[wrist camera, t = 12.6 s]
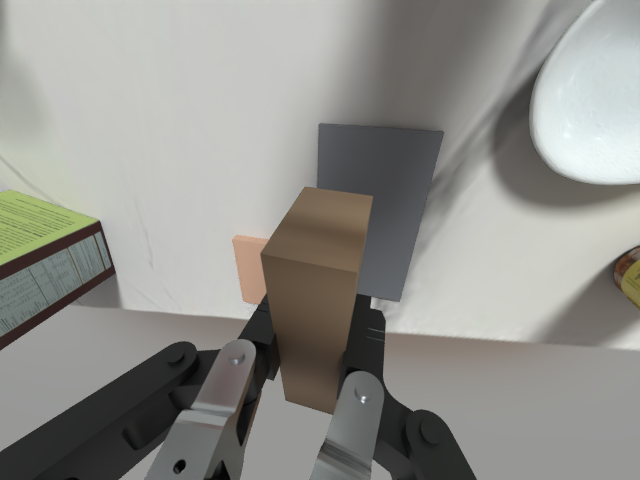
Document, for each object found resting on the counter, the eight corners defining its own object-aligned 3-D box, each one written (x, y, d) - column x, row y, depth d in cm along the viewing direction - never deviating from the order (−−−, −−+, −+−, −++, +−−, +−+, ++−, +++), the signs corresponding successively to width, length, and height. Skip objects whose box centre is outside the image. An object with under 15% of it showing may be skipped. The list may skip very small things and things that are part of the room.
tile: (232, 239, 30) (243, 301, 35) (280, 246, 29) (284, 309, 34) (239, 232, 32) (248, 293, 37) (285, 239, 30) (288, 301, 36)
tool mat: (320, 123, 22) (318, 124, 22) (442, 131, 20) (443, 132, 20) (316, 282, 32) (315, 285, 31) (399, 298, 30) (399, 301, 29)
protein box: (10, 188, 38) (-192, 241, 25) (100, 219, 36) (-64, 293, 23) (38, 245, 43) (-113, 312, 31) (117, 274, 42) (-7, 358, 29)
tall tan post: (263, 180, 10) (203, 242, 7) (421, 202, 9) (429, 286, 6) (288, 369, 20) (267, 428, 17) (365, 390, 19) (357, 457, 16)
